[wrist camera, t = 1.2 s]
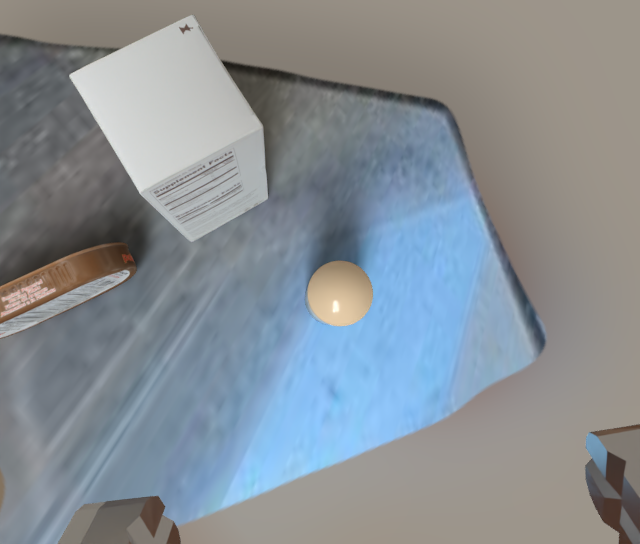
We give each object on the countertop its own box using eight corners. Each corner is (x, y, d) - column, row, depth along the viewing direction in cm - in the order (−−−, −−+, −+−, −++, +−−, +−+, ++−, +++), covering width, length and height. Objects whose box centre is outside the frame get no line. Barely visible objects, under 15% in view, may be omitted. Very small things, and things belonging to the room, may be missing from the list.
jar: (291, 298, 45) (294, 291, 37) (330, 261, 45) (341, 247, 37) (328, 338, 44) (339, 339, 36) (367, 301, 45) (386, 294, 37)
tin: (138, 248, 44) (105, 229, 36) (152, 277, 44) (122, 264, 35) (-14, 319, 42) (-86, 316, 34) (0, 349, 42) (-70, 354, 33)
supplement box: (142, 165, 45) (61, 68, 28) (223, 122, 46) (190, 5, 30) (191, 246, 44) (137, 196, 28) (271, 200, 46) (266, 125, 29)
